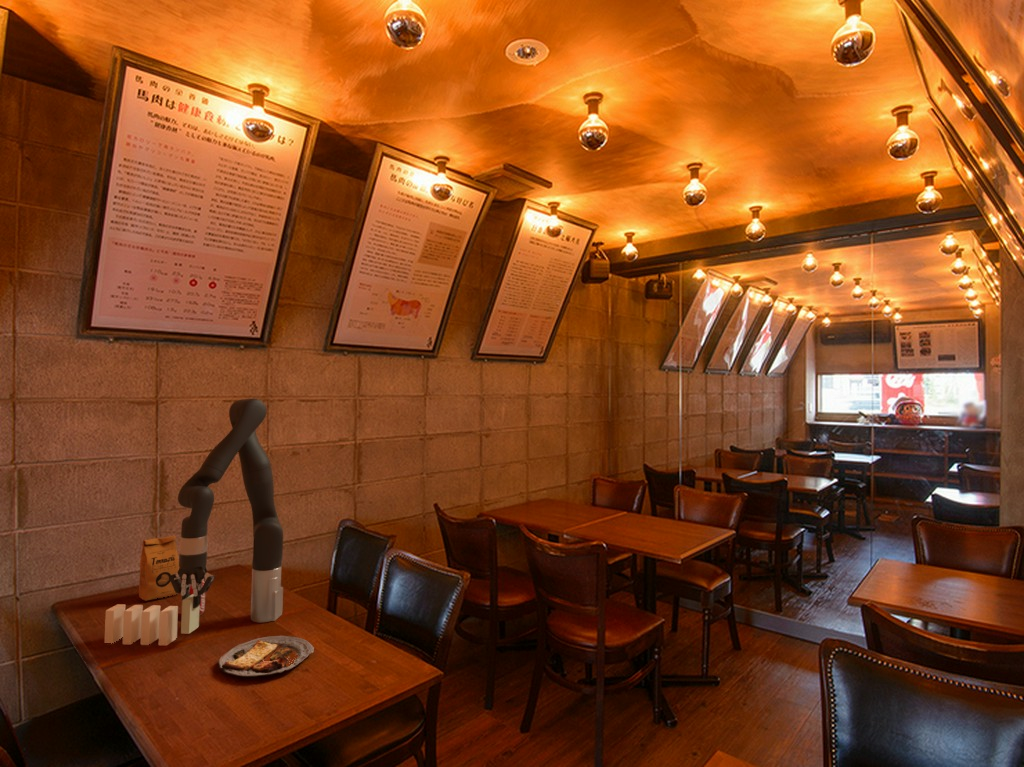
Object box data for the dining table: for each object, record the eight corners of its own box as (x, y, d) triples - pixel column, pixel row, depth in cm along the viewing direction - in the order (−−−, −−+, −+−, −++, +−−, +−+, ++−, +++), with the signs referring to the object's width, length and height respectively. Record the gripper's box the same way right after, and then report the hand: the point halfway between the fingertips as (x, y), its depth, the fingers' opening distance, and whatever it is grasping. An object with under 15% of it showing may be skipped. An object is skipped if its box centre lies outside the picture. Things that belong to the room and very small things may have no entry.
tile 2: (141, 637, 174) (142, 604, 174) (130, 644, 169) (131, 611, 169) (133, 637, 174) (135, 604, 174) (122, 644, 169) (123, 611, 169)
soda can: (196, 619, 187) (198, 584, 188) (176, 619, 188) (177, 583, 188) (208, 611, 194) (210, 577, 195) (188, 611, 195) (190, 576, 195)
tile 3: (159, 637, 174) (160, 605, 174) (148, 645, 169) (149, 611, 169) (151, 637, 174) (152, 605, 174) (140, 644, 169) (141, 611, 169)
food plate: (275, 688, 146) (276, 674, 146) (198, 677, 151) (199, 664, 151) (326, 648, 170) (326, 636, 171) (258, 640, 175) (259, 629, 175)
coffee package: (181, 596, 208) (183, 537, 208) (142, 604, 199) (144, 542, 200) (174, 589, 215) (176, 532, 216) (136, 596, 207) (138, 537, 207)
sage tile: (198, 626, 174) (200, 594, 174) (189, 633, 169) (190, 600, 169) (190, 626, 174) (192, 594, 174) (180, 633, 169) (182, 600, 169)
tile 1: (124, 636, 174) (125, 604, 174) (112, 643, 169) (113, 610, 169) (116, 636, 174) (117, 604, 174) (104, 643, 169) (105, 610, 169)
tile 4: (176, 638, 173) (177, 605, 174) (166, 645, 168) (167, 612, 169) (168, 638, 174) (170, 605, 174) (158, 645, 168) (159, 612, 169)
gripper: (222, 548, 175) (219, 603, 175) (178, 546, 175) (176, 601, 175) (208, 554, 168) (206, 612, 167) (163, 553, 168) (160, 610, 168)
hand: (190, 606), depth 171 cm, fingers closed on sage tile, 2 cm apart
